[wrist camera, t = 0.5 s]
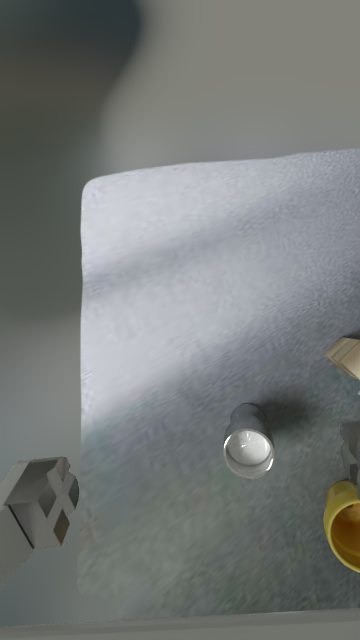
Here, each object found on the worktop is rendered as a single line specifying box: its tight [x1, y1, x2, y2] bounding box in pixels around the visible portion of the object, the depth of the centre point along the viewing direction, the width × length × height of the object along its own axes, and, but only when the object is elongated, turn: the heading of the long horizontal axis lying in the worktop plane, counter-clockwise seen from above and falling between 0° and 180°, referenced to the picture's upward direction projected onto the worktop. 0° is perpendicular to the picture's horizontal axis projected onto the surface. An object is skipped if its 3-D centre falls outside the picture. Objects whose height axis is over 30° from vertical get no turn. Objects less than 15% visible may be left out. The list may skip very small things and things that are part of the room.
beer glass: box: [223, 404, 275, 479], centre depth 51 cm, size 7×7×15 cm
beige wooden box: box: [324, 337, 360, 380], centre depth 51 cm, size 4×4×10 cm
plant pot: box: [324, 481, 360, 573], centre depth 51 cm, size 10×10×10 cm
